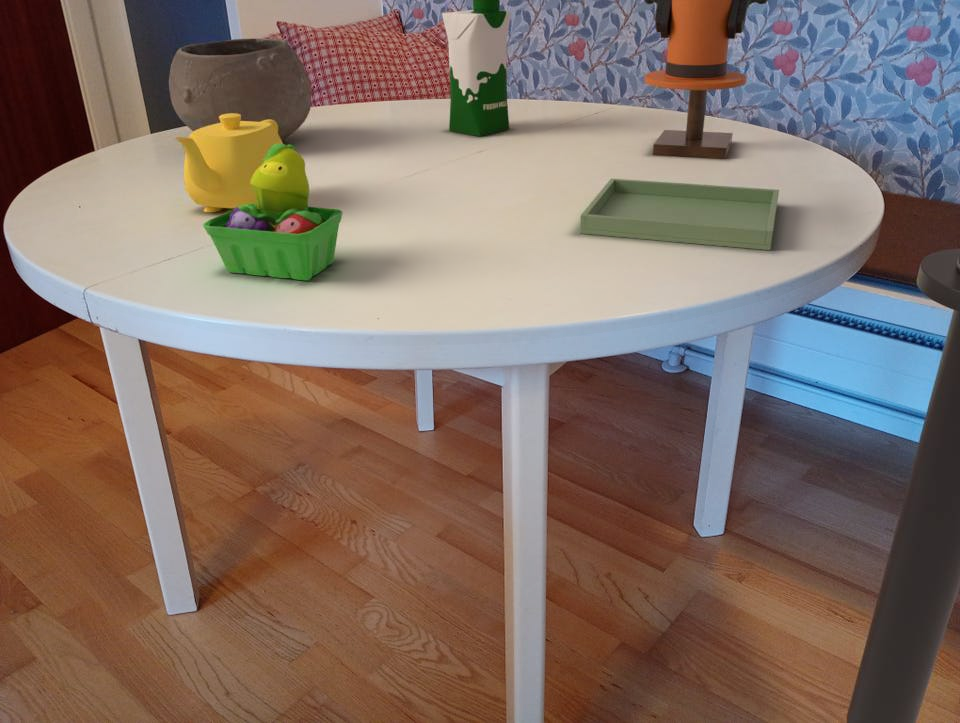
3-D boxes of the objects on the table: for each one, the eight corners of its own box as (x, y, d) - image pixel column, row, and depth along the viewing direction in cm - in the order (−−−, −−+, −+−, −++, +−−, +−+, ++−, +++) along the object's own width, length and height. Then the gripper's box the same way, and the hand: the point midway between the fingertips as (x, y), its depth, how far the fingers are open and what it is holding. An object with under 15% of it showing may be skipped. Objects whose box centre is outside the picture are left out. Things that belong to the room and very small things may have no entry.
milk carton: (480, 138, 129) (476, -1, 120) (440, 131, 134) (434, -2, 125) (517, 129, 134) (517, -4, 125) (477, 122, 140) (474, -6, 131)
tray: (776, 206, 93) (779, 189, 92) (770, 250, 81) (773, 231, 80) (610, 194, 99) (610, 178, 98) (579, 233, 87) (580, 215, 86)
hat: (702, 71, 89) (711, -16, 85) (767, 84, 81) (780, -11, 77) (625, 79, 86) (630, -11, 82) (685, 93, 78) (694, -6, 74)
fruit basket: (207, 276, 78) (185, 157, 73) (258, 246, 86) (241, 136, 81) (312, 288, 75) (297, 165, 70) (356, 256, 82) (345, 142, 77)
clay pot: (319, 153, 122) (307, 46, 115) (173, 164, 119) (151, 54, 112) (314, 126, 141) (303, 32, 134) (187, 135, 137) (169, 38, 130)
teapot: (233, 234, 89) (216, 134, 84) (152, 225, 93) (132, 129, 88) (319, 190, 104) (309, 103, 99) (247, 184, 108) (233, 99, 103)
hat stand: (731, 143, 122) (741, 57, 116) (725, 158, 114) (735, 67, 108) (663, 139, 125) (670, 56, 119) (652, 154, 117) (659, 66, 111)
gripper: (793, -77, 85) (772, 60, 81) (654, -73, 90) (626, 56, 85) (800, -140, 78) (777, 6, 74) (649, -133, 83) (619, 5, 79)
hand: (697, 32), depth 80 cm, fingers closed on hat, 5 cm apart
